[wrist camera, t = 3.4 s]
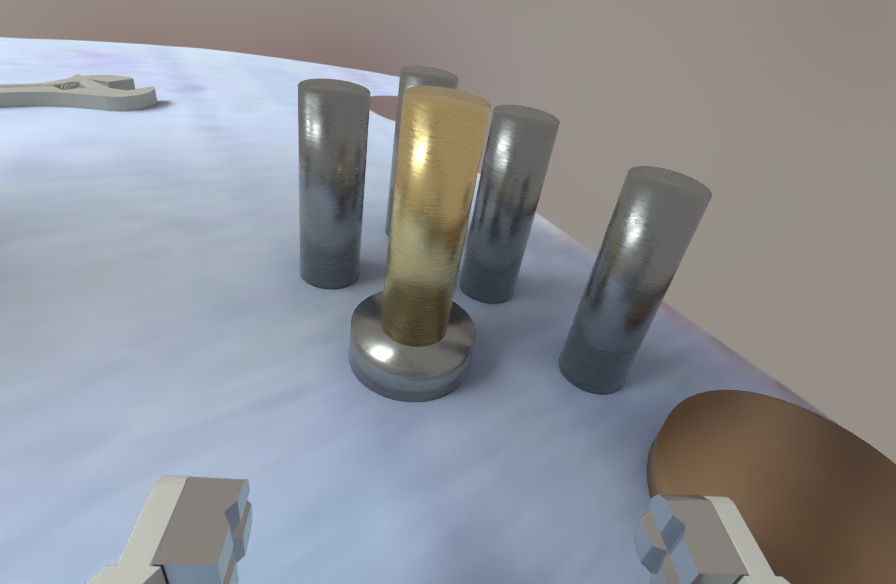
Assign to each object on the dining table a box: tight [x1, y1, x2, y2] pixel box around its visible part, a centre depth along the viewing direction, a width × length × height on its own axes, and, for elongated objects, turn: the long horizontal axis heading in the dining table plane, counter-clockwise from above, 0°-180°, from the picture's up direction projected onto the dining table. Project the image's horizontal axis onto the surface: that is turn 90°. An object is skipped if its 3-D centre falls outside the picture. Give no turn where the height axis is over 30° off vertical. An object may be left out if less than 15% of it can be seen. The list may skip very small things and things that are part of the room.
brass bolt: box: [349, 86, 490, 402], centre depth 21 cm, size 6×6×12 cm
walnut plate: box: [647, 390, 896, 584], centre depth 20 cm, size 11×11×2 cm
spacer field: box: [298, 66, 712, 394], centre depth 27 cm, size 15×17×10 cm
